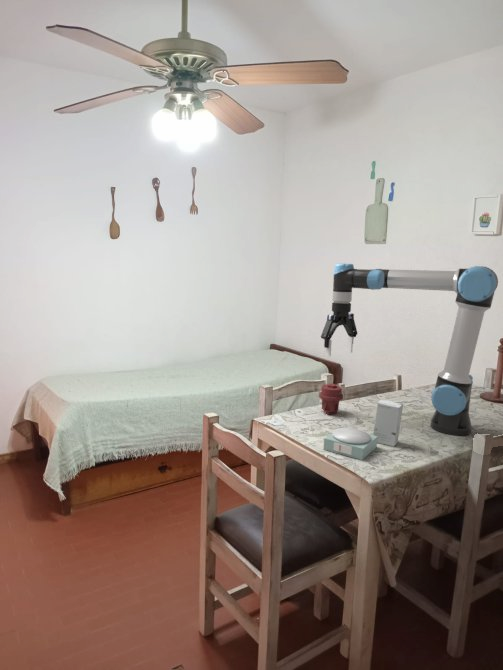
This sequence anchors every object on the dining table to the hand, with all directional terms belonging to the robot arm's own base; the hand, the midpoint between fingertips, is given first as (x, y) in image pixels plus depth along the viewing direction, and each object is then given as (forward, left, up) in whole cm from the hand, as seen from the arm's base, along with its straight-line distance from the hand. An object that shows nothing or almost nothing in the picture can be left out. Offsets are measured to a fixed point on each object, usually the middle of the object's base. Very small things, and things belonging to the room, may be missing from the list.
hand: (338, 353), depth 201 cm
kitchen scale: (-19, +29, -26) cm, 43 cm away
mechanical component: (+3, -2, -27) cm, 27 cm away
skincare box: (-27, +15, -27) cm, 41 cm away
